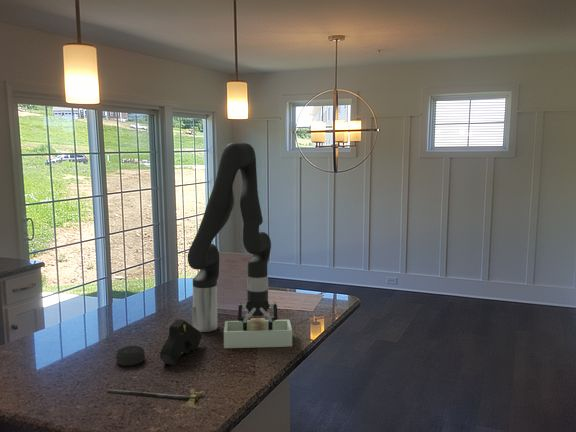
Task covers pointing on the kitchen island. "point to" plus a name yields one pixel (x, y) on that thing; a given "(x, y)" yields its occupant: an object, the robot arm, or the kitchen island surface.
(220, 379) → the kitchen island surface
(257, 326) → the block
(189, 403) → the decorative axe
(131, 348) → the smart speaker
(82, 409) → the kitchen island surface
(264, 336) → the tub
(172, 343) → the taser
